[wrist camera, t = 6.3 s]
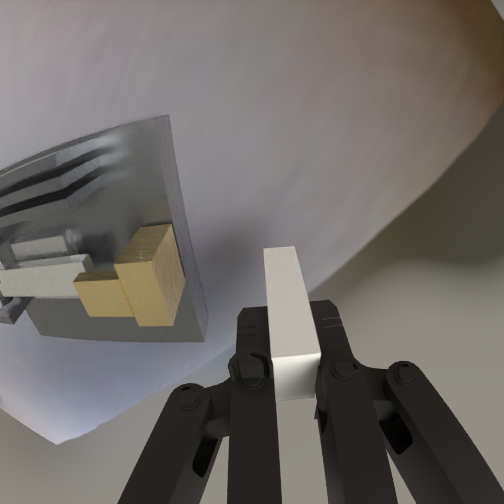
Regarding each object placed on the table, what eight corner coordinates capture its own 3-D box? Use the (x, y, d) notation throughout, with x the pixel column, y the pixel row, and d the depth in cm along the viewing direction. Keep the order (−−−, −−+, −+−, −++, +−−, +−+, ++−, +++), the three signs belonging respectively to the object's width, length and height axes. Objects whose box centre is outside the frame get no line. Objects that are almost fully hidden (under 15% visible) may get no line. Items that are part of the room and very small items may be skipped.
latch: (117, 285, 18) (94, 326, 14) (98, 232, 16) (66, 269, 12) (185, 281, 18) (172, 327, 14) (171, 223, 16) (150, 262, 12)
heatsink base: (52, 316, 24) (23, 363, 18) (-6, 173, 16) (-59, 205, 10) (208, 315, 23) (198, 384, 17) (168, 114, 15) (122, 125, 9)
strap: (7, 295, 17) (-1, 305, 16) (-12, 256, 15) (-21, 265, 14) (106, 293, 17) (99, 306, 16) (85, 240, 15) (75, 252, 14)
